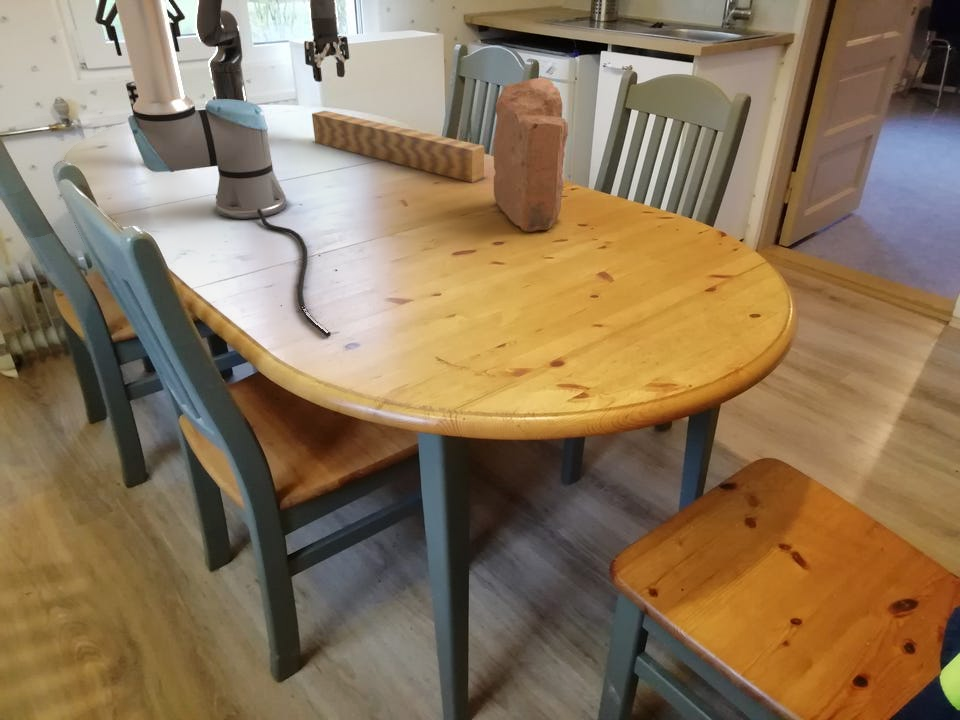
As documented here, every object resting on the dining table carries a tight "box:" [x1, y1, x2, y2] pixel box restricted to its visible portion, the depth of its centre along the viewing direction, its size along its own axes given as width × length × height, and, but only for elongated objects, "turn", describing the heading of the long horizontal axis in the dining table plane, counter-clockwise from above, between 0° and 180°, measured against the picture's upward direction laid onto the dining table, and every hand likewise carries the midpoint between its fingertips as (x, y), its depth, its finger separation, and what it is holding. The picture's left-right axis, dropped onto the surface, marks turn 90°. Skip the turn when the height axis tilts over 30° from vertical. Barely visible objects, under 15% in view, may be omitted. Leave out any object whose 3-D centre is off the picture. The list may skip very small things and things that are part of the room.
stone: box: [493, 77, 569, 232], centre depth 148 cm, size 22×11×28 cm, turn 18°
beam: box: [311, 110, 485, 183], centre depth 189 cm, size 59×5×8 cm, turn 53°
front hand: (149, 53), depth 174 cm, fingers open, 13 cm apart
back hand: (329, 79), depth 194 cm, fingers open, 8 cm apart
